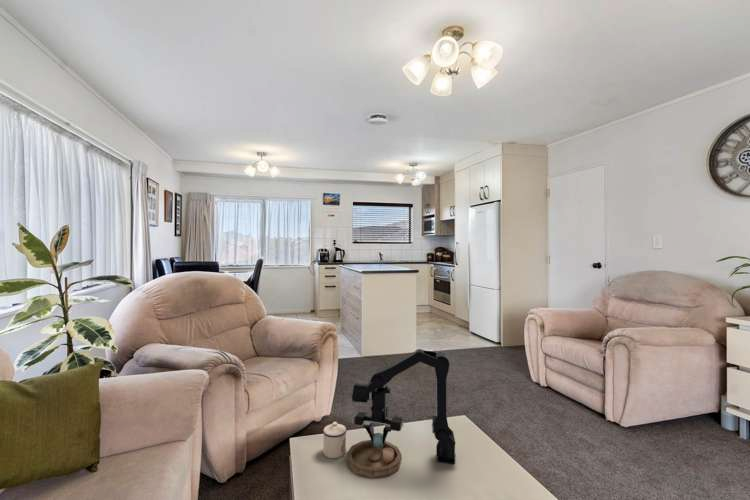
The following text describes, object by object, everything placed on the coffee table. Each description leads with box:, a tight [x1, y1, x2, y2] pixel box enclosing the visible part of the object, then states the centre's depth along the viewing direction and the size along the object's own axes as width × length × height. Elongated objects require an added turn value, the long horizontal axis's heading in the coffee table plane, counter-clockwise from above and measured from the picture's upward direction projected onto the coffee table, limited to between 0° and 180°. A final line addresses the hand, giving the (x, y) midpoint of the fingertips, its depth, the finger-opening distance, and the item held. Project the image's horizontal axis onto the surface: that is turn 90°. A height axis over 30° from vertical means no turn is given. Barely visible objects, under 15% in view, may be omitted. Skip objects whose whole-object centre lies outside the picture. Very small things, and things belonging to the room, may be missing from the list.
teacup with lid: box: [322, 421, 347, 459], centre depth 140 cm, size 12×9×12 cm
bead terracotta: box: [383, 448, 394, 464], centre depth 131 cm, size 4×4×4 cm
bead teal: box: [373, 432, 383, 448], centre depth 138 cm, size 4×4×4 cm
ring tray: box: [346, 439, 403, 479], centre depth 133 cm, size 20×20×3 cm
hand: (378, 442), depth 138 cm, fingers closed on bead teal, 4 cm apart
